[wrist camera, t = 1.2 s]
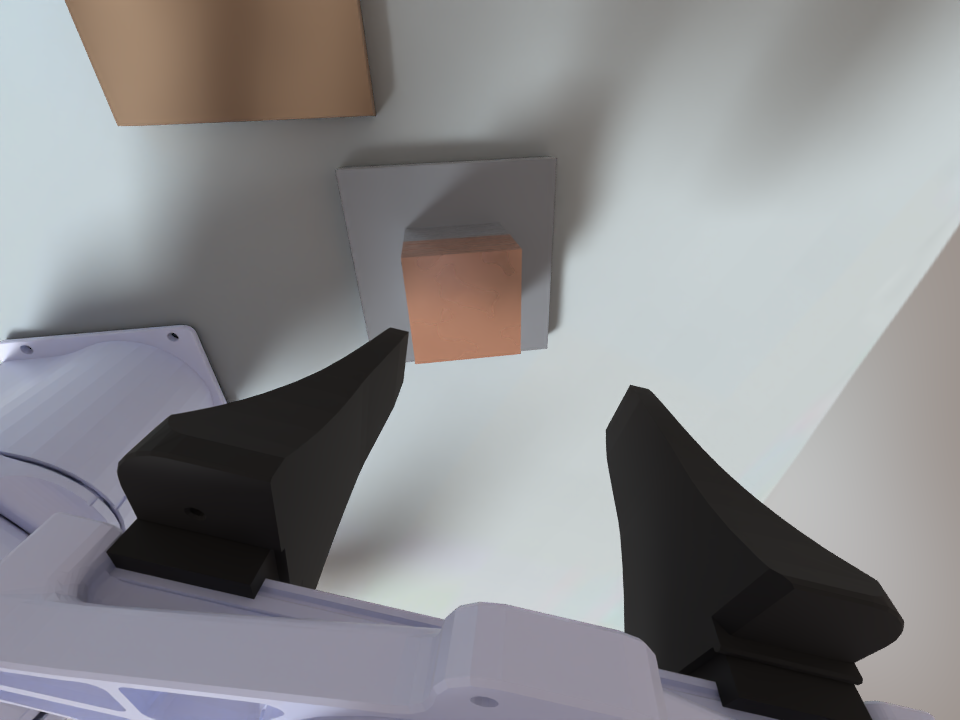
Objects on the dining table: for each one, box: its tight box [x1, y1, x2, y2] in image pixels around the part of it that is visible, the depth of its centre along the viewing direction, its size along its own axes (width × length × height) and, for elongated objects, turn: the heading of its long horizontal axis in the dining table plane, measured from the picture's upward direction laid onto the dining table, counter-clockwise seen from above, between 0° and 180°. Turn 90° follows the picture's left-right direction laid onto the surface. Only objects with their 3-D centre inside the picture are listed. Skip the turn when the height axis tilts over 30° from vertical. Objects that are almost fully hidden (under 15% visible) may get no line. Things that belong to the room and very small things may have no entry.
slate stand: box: [335, 157, 557, 362], centre depth 21 cm, size 10×10×1 cm
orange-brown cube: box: [401, 223, 522, 364], centre depth 19 cm, size 5×5×5 cm
